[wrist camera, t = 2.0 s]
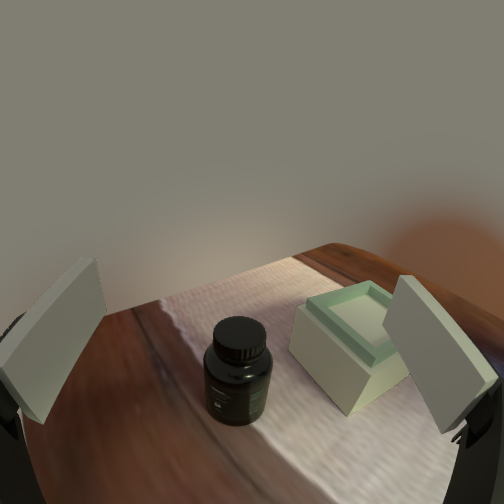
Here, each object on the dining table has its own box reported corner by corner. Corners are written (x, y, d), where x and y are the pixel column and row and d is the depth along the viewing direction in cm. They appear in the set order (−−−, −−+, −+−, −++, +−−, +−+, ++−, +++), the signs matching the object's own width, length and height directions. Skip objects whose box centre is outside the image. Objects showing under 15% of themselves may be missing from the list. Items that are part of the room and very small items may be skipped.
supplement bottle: (195, 401, 29) (186, 326, 24) (237, 375, 33) (242, 301, 28) (233, 438, 24) (237, 371, 20) (276, 406, 29) (293, 334, 24)
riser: (354, 324, 44) (369, 276, 41) (411, 372, 33) (438, 323, 29) (288, 349, 38) (298, 296, 35) (347, 417, 27) (376, 366, 23)
